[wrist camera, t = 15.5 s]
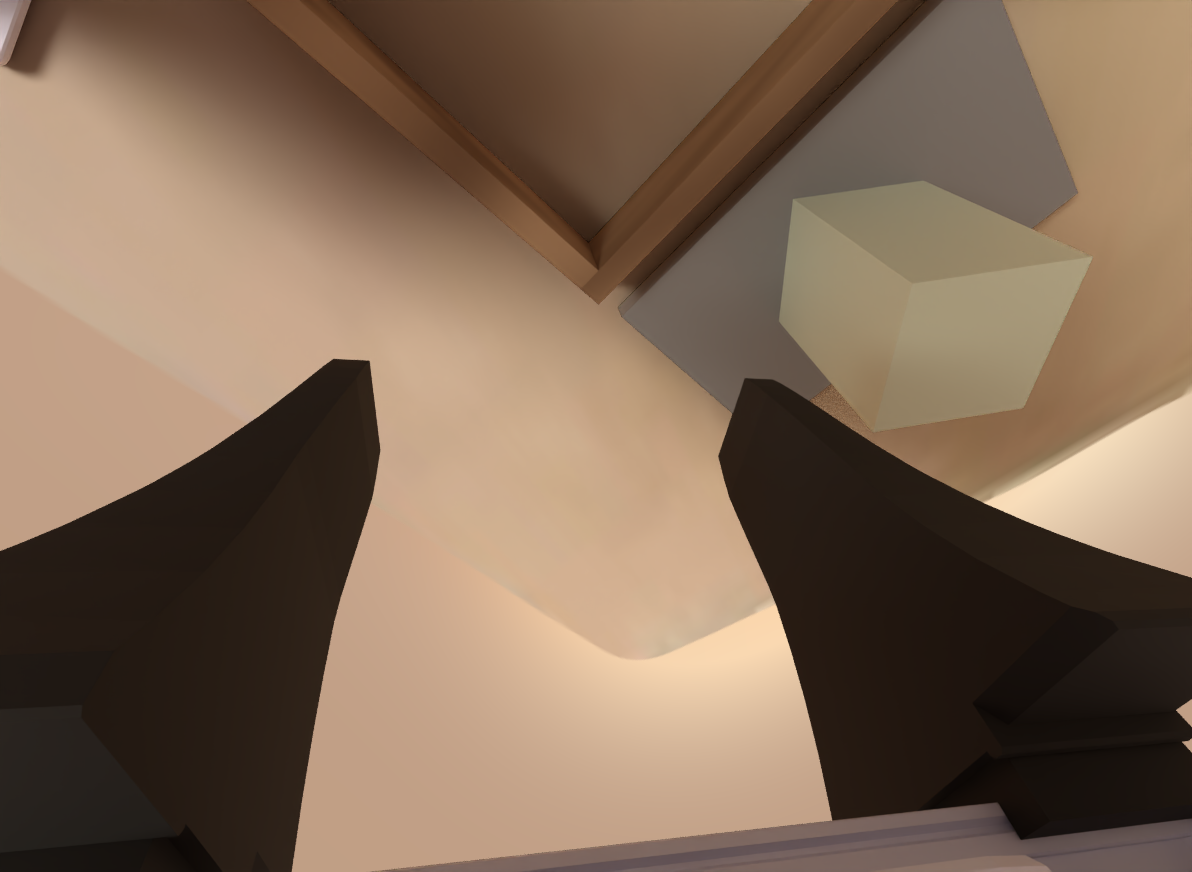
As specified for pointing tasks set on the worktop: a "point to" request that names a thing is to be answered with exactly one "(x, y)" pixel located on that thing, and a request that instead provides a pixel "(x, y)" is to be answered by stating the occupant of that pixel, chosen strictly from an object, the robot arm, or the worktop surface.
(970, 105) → the slate board
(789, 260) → the olive beige rectangular block
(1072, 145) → the worktop surface
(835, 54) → the walnut tray
